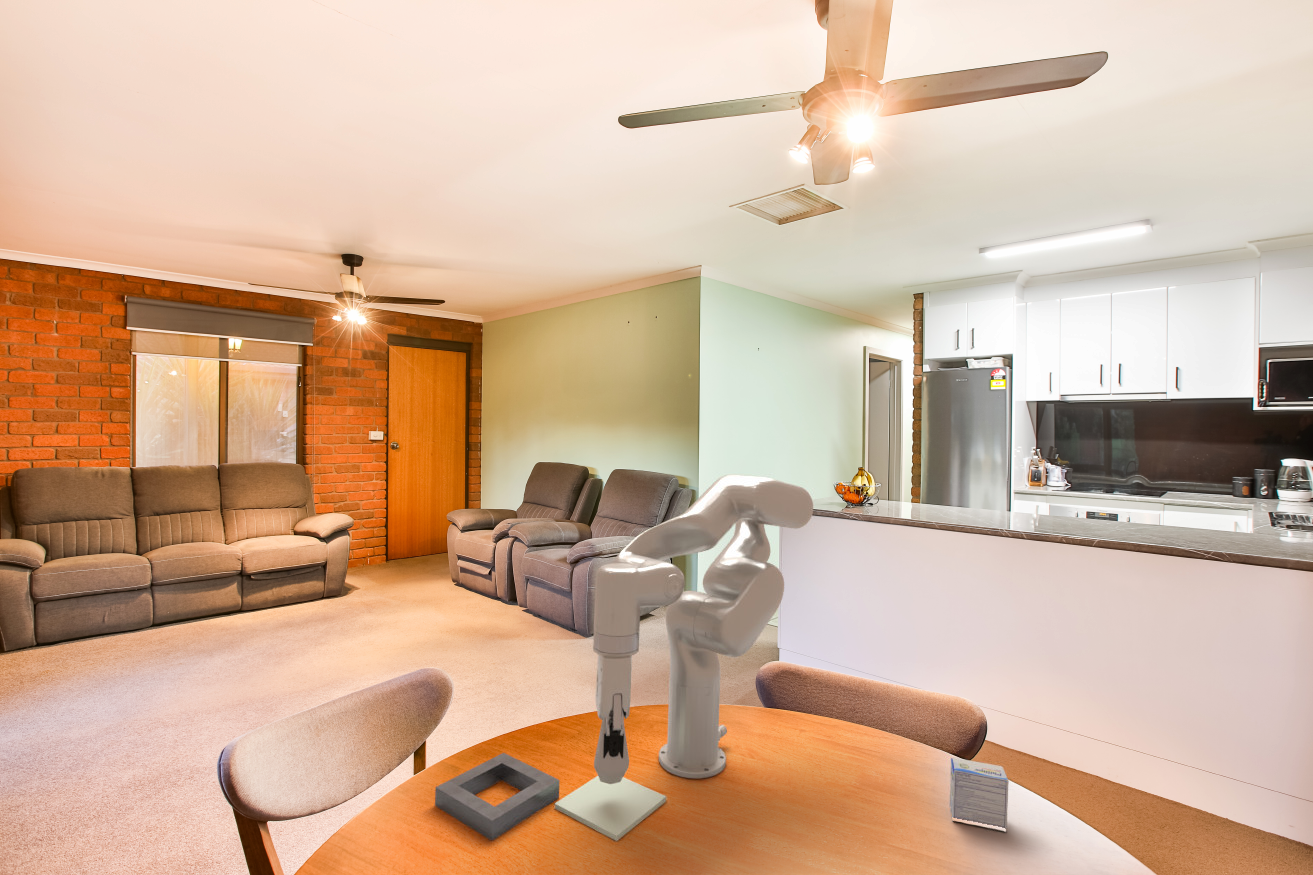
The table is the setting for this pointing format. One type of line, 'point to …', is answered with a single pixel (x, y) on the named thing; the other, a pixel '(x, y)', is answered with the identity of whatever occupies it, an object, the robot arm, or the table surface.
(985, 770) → the medicine box
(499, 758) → the grey square frame
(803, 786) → the table surface
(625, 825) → the mat
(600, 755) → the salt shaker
